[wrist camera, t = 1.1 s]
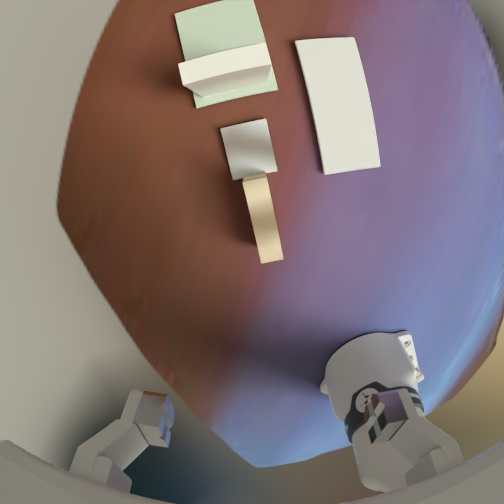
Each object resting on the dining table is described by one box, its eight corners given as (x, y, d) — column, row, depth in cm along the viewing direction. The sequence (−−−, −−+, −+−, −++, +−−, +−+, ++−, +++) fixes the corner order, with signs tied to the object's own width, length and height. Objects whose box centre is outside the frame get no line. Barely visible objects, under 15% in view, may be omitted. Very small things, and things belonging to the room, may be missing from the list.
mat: (277, 90, 27) (278, 89, 26) (197, 108, 28) (196, 108, 27) (251, -4, 21) (251, -5, 21) (175, 14, 22) (174, 13, 22)
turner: (290, 241, 34) (295, 256, 30) (250, 249, 35) (249, 265, 31) (265, 118, 28) (267, 116, 24) (221, 128, 29) (215, 128, 25)
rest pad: (378, 165, 30) (380, 166, 29) (323, 174, 31) (324, 174, 30) (352, 38, 23) (354, 37, 23) (294, 42, 24) (295, 40, 24)
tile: (266, 83, 26) (271, 64, 18) (203, 97, 27) (182, 85, 18) (262, 64, 25) (264, 39, 17) (198, 79, 26) (177, 60, 18)
